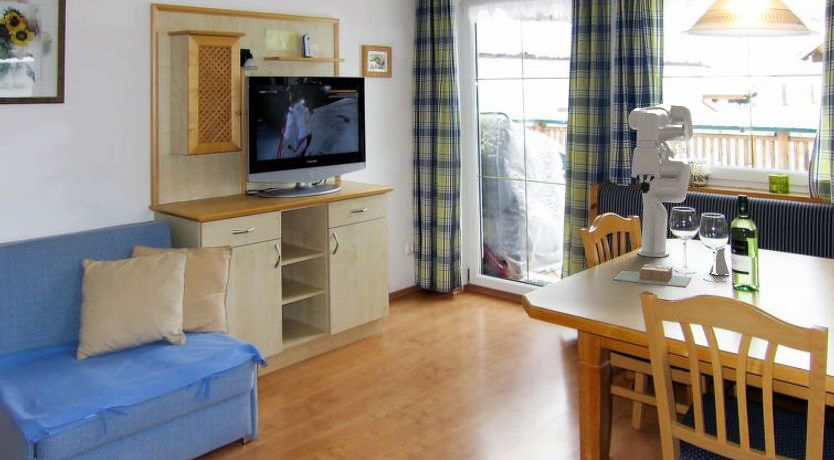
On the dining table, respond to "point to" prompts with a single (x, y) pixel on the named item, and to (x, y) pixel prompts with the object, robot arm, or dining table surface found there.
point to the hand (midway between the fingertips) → (645, 192)
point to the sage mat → (635, 277)
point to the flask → (720, 263)
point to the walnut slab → (656, 273)
